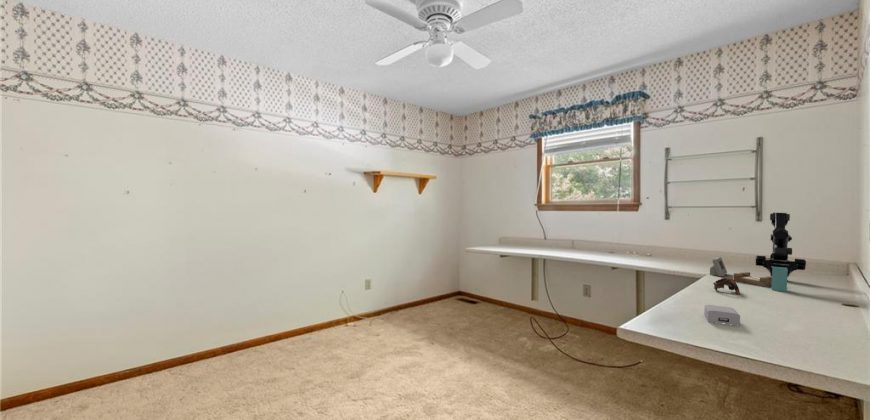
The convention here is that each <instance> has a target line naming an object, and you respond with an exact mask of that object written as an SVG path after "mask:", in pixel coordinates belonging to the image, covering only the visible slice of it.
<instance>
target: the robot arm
mask: <svg viewBox="0 0 870 420" xmlns="http://www.w3.org/2000/svg"><path fill="white" fill-rule="evenodd" d="M790 219H791V214H790V213H788V212H772V213H770V214H769V221H770V222H771V225H772V226H773V227H774V229H773V230H772V233H771V234H770V241H771V243H772V252H771V253H770V256H769V257H770V258H769V257H767V256H766V255H758V254H757V255H756V256H755V265H756V266H758V267H762V268H766V270H767V271H768V272H769V274H770V275H769V276H772V266H775V267H786V268H787V269H788V272H787V278H789V277H790V276H791V274H792V273H793V272H794V271H798V270H799V271H805V270H806V266H807V261H806V260H805V258H804V259H803V258H794V261H793V260H789V256H793V247H788V244H789V242H791V241H793V240H792V239H793V237H792V236H791V235H790V234H789V231H788V230H787V229H786V226H787V225H788V223H789V222H790ZM788 281H789V280H788V279H787V282H788Z"/></svg>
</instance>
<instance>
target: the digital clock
mask: <svg viewBox="0 0 870 420" xmlns="http://www.w3.org/2000/svg"><path fill="white" fill-rule="evenodd" d="M711 261H712V263H713V265H712V266H710V269H709V275H710V276H715V275H716V276H717V277H720V278H722V277H724V276H725V275H726V274H727V273H728V271H727V268H726V266H725V263H724V261H723V258H722V257H721V256H716V257H714V258H713V259H711Z"/></svg>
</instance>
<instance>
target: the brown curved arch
mask: <svg viewBox="0 0 870 420" xmlns="http://www.w3.org/2000/svg"><path fill="white" fill-rule="evenodd" d="M712 284H713V289H714V290H715V291H718V289H725V286H727V287H728V290H730V291H735V294H736V295H737V296H739V295H740V294H741V291H740V288H739V286H738V284H737V282H735V281H734V278H730V277H723V278H722V277H721V278H720V279H717V280H716V281H715V282H713V283H712Z"/></svg>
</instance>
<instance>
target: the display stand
mask: <svg viewBox="0 0 870 420" xmlns="http://www.w3.org/2000/svg"><path fill="white" fill-rule="evenodd" d="M733 280H734V281H735V282H736V283H741V284H747V285H751V286H752V285H753V286H758V287H762V288H763V287H764V288H765V287H772V276H770V275H769V276H762V277H757V276H754V275H753V276H752V275H751V272H750V271H749V272H748V271H741V272H735V273H733Z"/></svg>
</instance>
